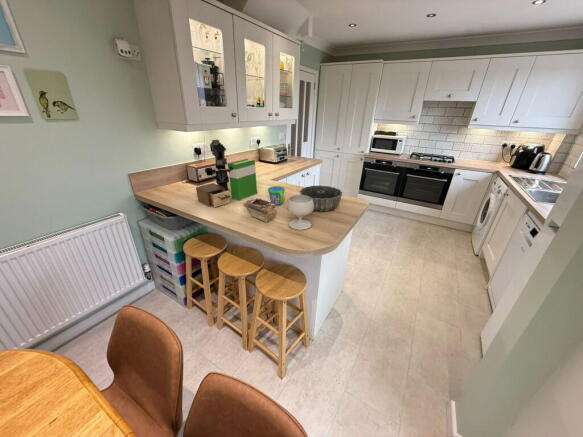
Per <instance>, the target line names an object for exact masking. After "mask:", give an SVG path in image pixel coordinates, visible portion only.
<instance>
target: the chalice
mask: <svg viewBox="0 0 583 437" xmlns="http://www.w3.org/2000/svg"><path fill="white" fill-rule="evenodd" d="M286 209H287V212H289V214H291V215H293V216H296V217H297V218H296V219H292V220H290V221H289V222H288V226H289V227H290V228H292V229H293V230H300V231H301V230H307V229H309V228H311V227H312V223H311V221H310V220H308V219H304V218H303V217H305V216H308V215H310V214H312V213H313V211H314V210H313V209H314V203H313V200H312V198H311V197H309V196H306V195H300V194H295V195H292V196H290V197H289V198H288V200H287V203H286Z"/></svg>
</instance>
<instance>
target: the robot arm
mask: <svg viewBox="0 0 583 437" xmlns="http://www.w3.org/2000/svg"><path fill="white" fill-rule="evenodd" d="M209 148H210V152H211V154H212V156H213V157H214V159H215V160H214V161H215V168H214V169H213V167H205V169H204V170H205V174H206V176H208V177H209V176H214V174H215V182H216V183H215V184H217V185H220V186H222V187H225V190H226V191H229V192H230V189H229V186H228V183H230V179H229V172H230V171H231V170H234V169H233V168H232V167H230V166H229V168H230V169H228V168H226V165H228V160H227V158H225V155H226V151H227V148H226V147H225V145H224V144H222V143H221V142H220V139H212V140H211V142H210V144H209Z"/></svg>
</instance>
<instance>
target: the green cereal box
mask: <svg viewBox="0 0 583 437" xmlns="http://www.w3.org/2000/svg"><path fill="white" fill-rule="evenodd" d="M229 166H230V167H232V168H233V169H234V170H231V171H230V172H228V176H229V187H230V194H231V195H230V196H231V199H234V200H237V201H241V200H244V199H246V198H248V197H251V196H253V195H256V194H258V185H257V172H256V160H255V159H252V160H249V159H248V158H244V159H240V160H236V161H232V162H227V169H230V168H229Z"/></svg>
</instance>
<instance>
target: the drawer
mask: <svg viewBox="0 0 583 437" xmlns="http://www.w3.org/2000/svg"><path fill="white" fill-rule="evenodd" d="M230 194H231V193H230V190H229V191H226V190H223V189H222V190H218V191H215V192H211V193H209V198H210V204H212V205H213V207H214V208H217V207H220V206H223V205H226V204H230V203H231V195H230Z"/></svg>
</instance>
